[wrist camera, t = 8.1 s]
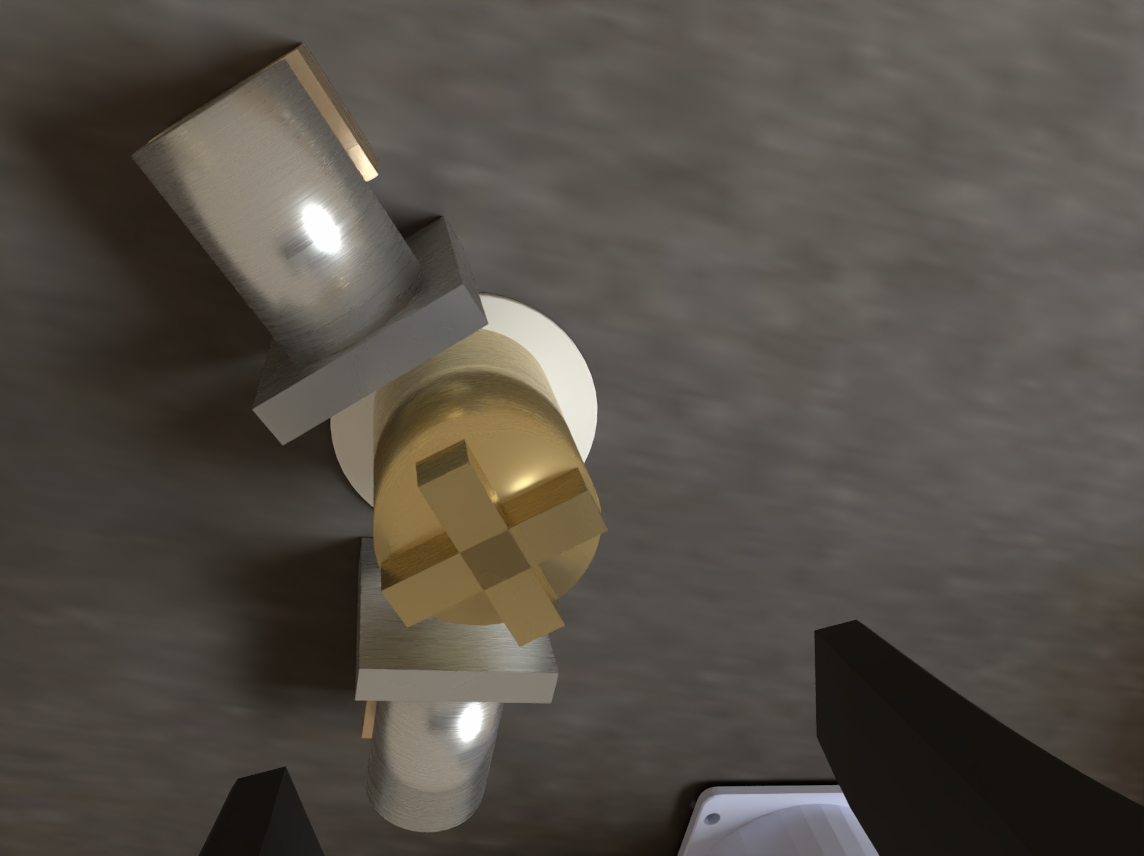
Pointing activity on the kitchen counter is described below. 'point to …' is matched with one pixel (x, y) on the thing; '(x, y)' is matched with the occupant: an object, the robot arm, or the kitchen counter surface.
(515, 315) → the seat
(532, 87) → the kitchen counter surface
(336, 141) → the shaft
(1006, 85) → the kitchen counter surface
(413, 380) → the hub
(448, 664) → the shaft
